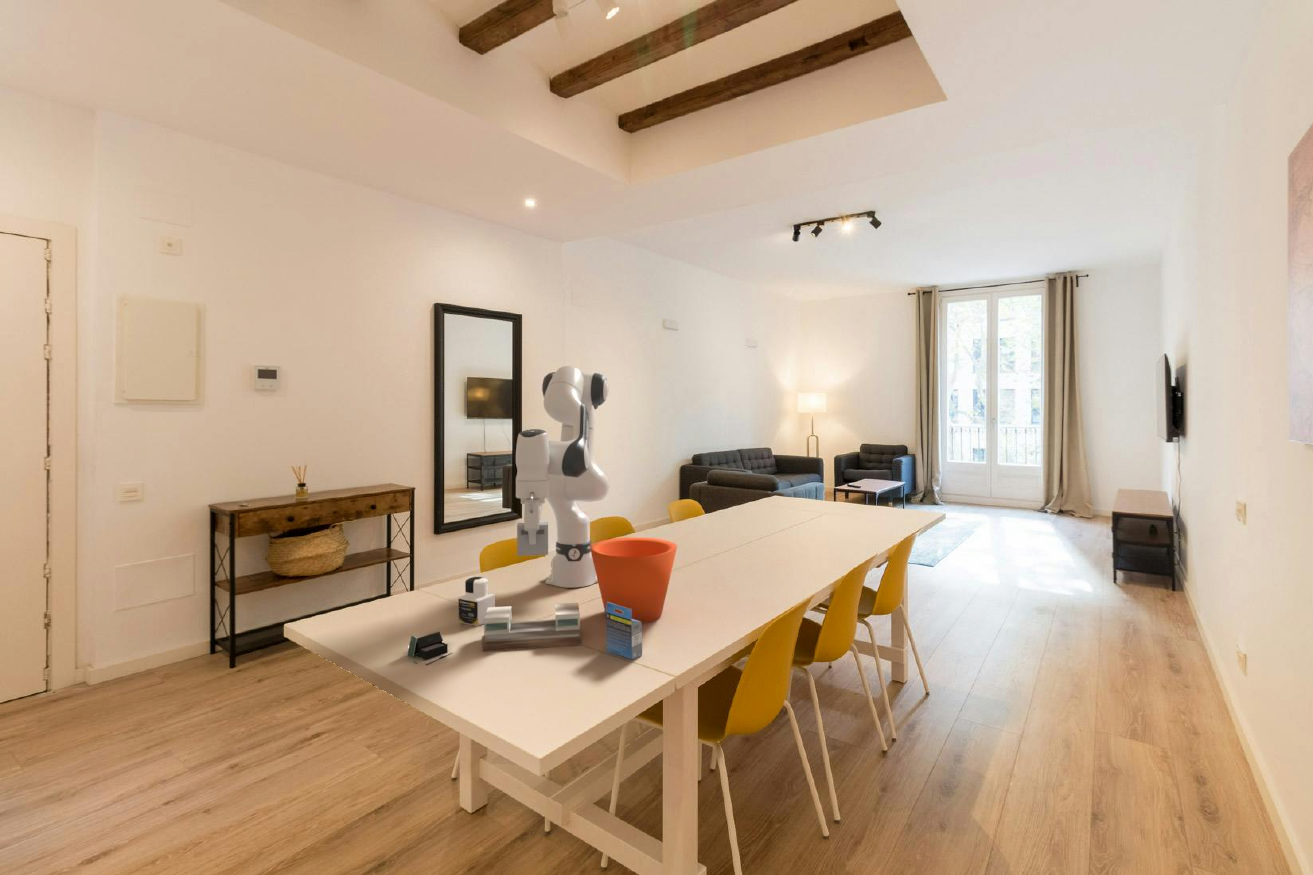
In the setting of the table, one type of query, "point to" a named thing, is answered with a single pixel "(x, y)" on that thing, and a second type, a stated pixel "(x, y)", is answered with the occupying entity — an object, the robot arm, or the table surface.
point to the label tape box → (623, 632)
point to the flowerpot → (634, 574)
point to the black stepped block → (427, 647)
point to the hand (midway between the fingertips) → (533, 542)
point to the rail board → (531, 629)
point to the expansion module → (541, 541)
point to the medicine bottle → (475, 601)
